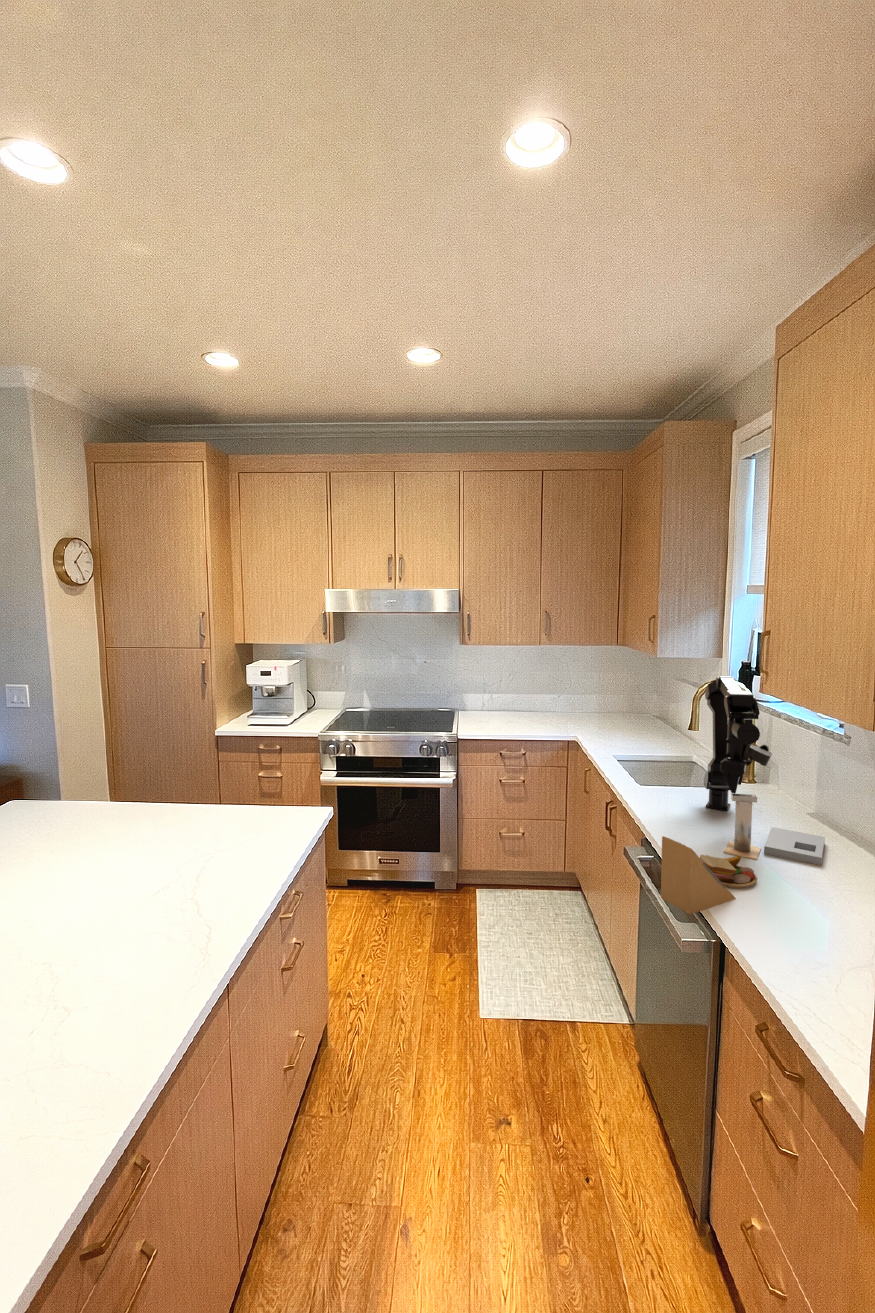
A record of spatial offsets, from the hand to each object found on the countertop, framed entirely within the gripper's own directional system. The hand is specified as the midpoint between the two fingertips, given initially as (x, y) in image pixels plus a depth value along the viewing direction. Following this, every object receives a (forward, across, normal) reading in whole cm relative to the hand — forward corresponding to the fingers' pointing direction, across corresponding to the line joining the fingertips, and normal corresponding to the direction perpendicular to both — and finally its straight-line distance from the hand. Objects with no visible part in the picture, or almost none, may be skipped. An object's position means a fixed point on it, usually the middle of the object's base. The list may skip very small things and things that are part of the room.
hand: (736, 788), depth 176 cm
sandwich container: (+13, -46, 0) cm, 48 cm away
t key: (+13, -13, -4) cm, 18 cm away
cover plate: (+13, -3, -16) cm, 21 cm away
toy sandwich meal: (+14, -32, -3) cm, 35 cm away
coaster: (+13, -13, -4) cm, 19 cm away
